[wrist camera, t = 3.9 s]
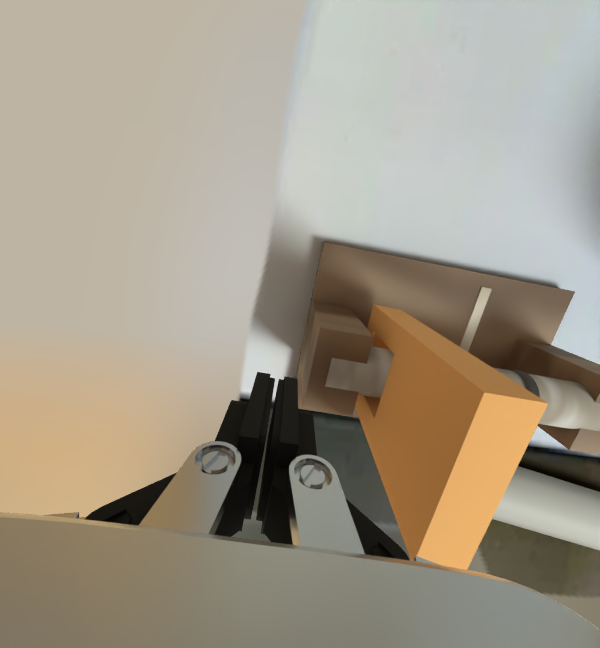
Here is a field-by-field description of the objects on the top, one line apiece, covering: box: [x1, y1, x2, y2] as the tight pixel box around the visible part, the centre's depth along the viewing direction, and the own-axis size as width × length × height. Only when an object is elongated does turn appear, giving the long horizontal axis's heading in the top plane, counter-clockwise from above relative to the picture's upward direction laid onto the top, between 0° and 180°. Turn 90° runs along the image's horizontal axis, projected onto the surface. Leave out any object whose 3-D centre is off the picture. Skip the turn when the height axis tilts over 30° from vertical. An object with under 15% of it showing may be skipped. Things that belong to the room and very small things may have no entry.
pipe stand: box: [296, 242, 600, 455], centre depth 20 cm, size 14×20×9 cm
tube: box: [492, 466, 600, 550], centre depth 27 cm, size 5×5×25 cm
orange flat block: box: [355, 304, 548, 570], centre depth 15 cm, size 7×2×12 cm, turn 169°
